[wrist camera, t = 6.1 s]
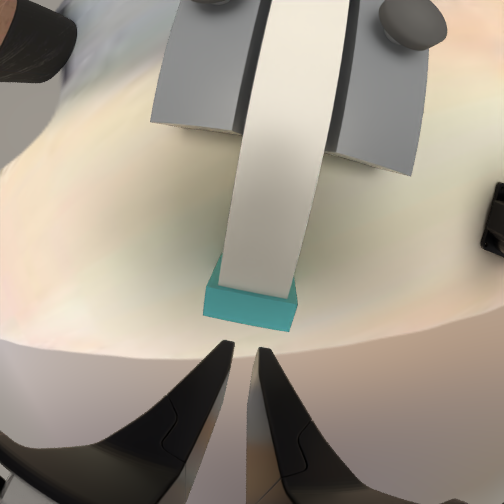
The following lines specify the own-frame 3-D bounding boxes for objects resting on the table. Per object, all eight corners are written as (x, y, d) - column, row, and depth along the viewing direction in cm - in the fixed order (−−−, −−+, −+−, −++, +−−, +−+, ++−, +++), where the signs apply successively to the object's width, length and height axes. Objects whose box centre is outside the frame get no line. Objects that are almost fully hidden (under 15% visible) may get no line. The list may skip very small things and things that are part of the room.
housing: (396, 29, 13) (439, -5, 7) (376, 167, 18) (424, 180, 11) (216, -9, 13) (193, -59, 7) (182, 127, 18) (137, 120, 11)
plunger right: (433, 16, 7) (445, 8, 6) (433, 61, 9) (447, 54, 7) (379, -9, 7) (388, -21, 6) (376, 35, 9) (386, 24, 7)
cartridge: (343, 19, 13) (362, -14, 8) (286, 290, 21) (289, 332, 16) (270, 3, 13) (268, -35, 8) (218, 276, 21) (202, 315, 16)
